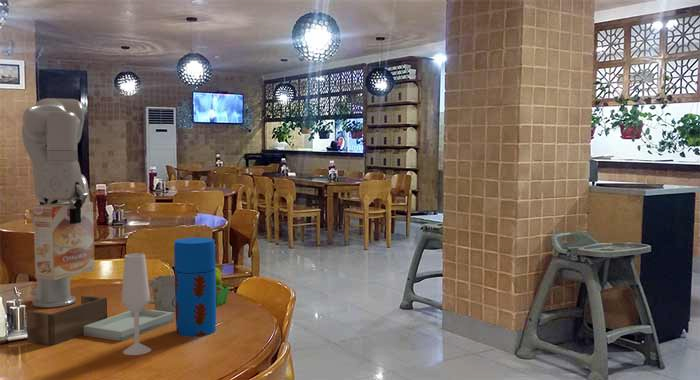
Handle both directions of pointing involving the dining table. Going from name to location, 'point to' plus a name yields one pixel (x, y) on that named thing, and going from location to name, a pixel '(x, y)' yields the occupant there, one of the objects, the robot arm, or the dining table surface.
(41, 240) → the coffeecake box
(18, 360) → the dining table surface
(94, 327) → the tray
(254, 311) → the dining table surface
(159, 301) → the mug
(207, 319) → the thermos
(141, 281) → the champagne flute
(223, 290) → the fruit basket
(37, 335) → the holder
